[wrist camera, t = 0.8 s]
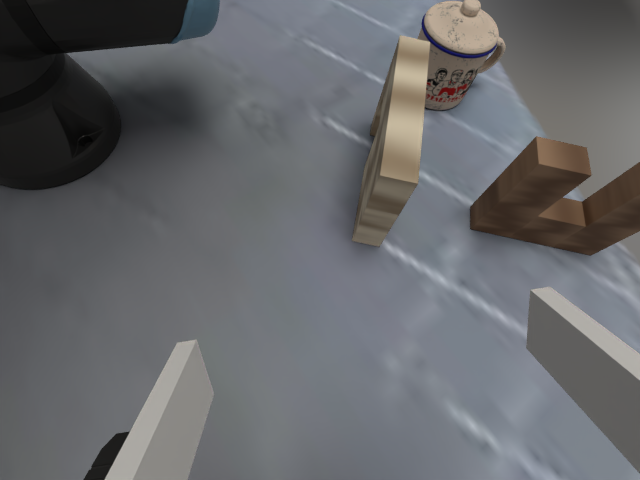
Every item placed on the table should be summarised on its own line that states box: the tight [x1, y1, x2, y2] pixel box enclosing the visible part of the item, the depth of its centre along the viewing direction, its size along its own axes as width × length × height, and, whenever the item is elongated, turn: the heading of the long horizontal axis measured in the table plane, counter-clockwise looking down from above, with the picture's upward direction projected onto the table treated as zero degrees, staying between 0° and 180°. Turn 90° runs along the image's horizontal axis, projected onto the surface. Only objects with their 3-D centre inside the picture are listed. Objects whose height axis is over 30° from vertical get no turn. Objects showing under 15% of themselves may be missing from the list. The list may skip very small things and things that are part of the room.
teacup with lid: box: [418, 0, 505, 110], centre depth 45 cm, size 12×9×12 cm
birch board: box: [352, 35, 430, 247], centre depth 37 cm, size 17×3×12 cm, turn 169°
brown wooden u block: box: [470, 136, 640, 255], centre depth 36 cm, size 14×3×12 cm, turn 79°
